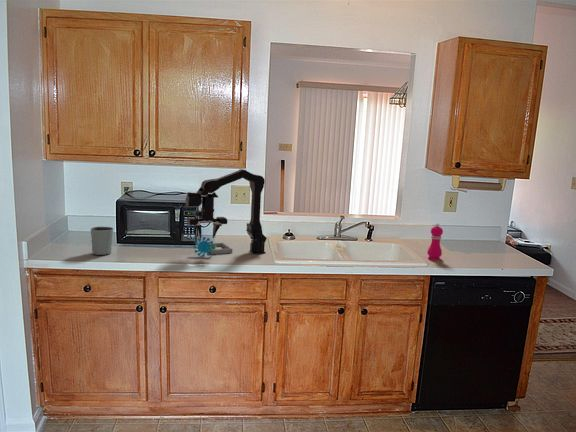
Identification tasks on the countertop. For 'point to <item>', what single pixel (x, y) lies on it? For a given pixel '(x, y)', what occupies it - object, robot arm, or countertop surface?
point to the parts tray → (221, 251)
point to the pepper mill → (435, 243)
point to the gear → (204, 246)
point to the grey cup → (101, 240)
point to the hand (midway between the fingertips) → (206, 238)
